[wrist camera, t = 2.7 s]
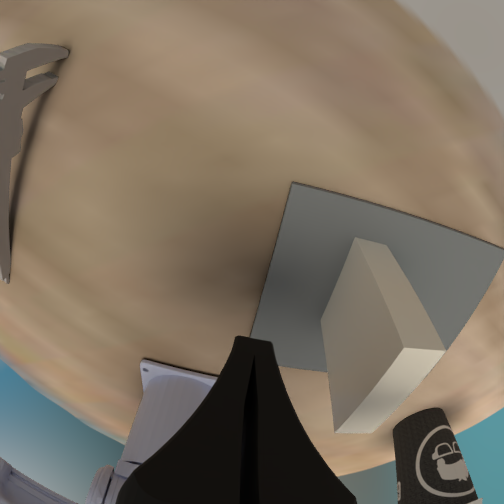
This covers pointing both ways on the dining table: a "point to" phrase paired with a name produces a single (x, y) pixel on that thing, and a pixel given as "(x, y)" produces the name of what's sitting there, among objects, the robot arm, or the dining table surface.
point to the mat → (333, 259)
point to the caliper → (18, 118)
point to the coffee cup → (430, 462)
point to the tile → (374, 339)
